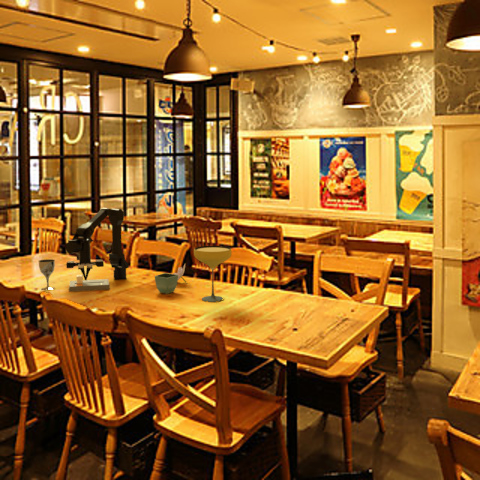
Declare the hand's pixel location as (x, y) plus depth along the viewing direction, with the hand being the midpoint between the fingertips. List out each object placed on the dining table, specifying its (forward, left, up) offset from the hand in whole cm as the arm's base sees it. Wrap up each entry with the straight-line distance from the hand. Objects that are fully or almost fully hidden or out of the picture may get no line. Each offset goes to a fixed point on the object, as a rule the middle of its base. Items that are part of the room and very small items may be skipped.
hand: (85, 280), depth 295 cm
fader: (+3, 0, -3) cm, 4 cm away
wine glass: (+19, -2, -4) cm, 20 cm away
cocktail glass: (-60, +40, -4) cm, 72 cm away
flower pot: (-40, +21, -4) cm, 45 cm away
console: (-2, 0, -4) cm, 4 cm away
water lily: (-49, 0, -4) cm, 49 cm away
